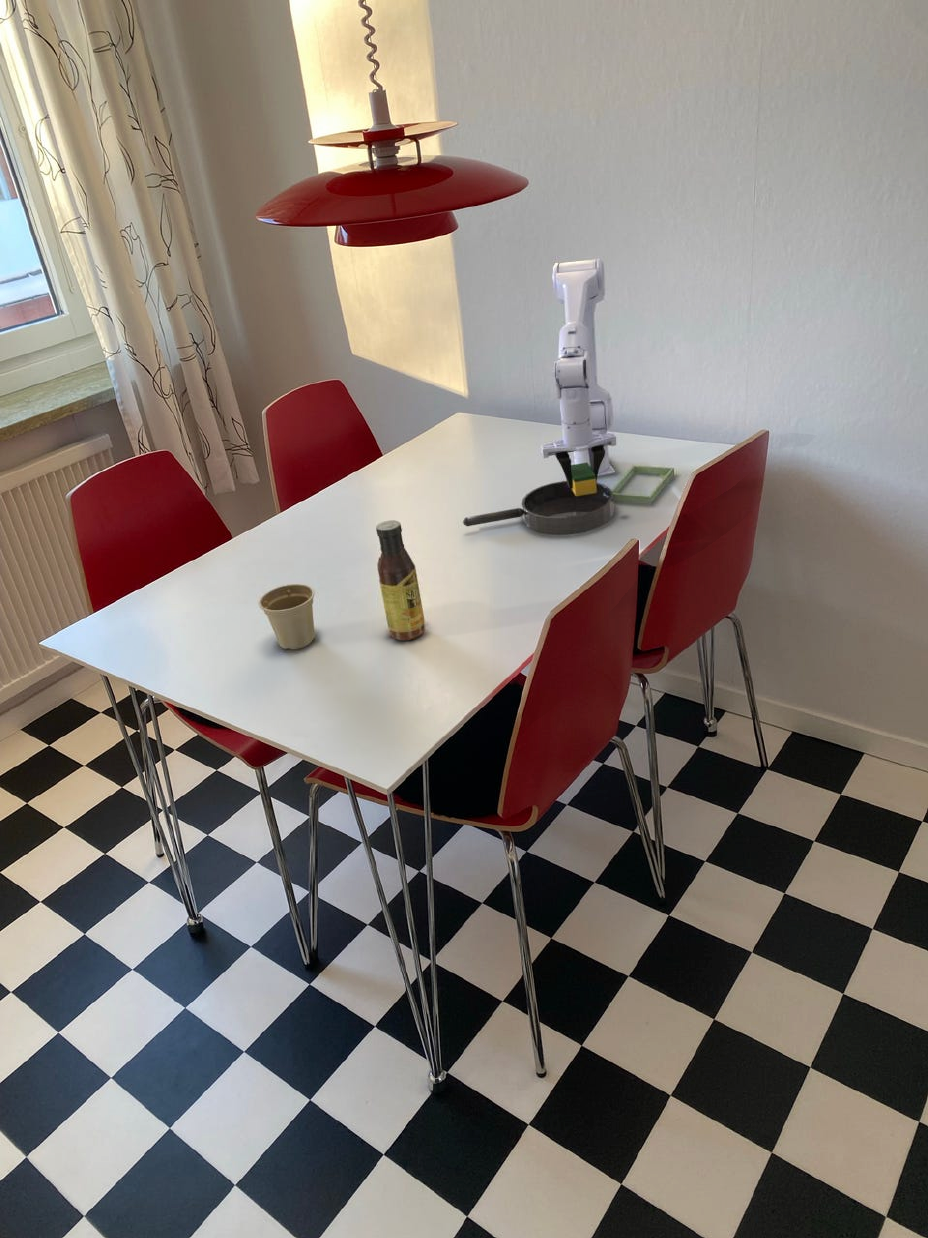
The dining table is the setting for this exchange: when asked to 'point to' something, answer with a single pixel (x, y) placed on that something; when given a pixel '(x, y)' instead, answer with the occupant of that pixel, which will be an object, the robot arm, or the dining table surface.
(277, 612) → the flower pot
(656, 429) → the dining table surface
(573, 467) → the sponge
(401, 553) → the sauce bottle
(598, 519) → the pan
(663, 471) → the sponge tray
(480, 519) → the pan handle
